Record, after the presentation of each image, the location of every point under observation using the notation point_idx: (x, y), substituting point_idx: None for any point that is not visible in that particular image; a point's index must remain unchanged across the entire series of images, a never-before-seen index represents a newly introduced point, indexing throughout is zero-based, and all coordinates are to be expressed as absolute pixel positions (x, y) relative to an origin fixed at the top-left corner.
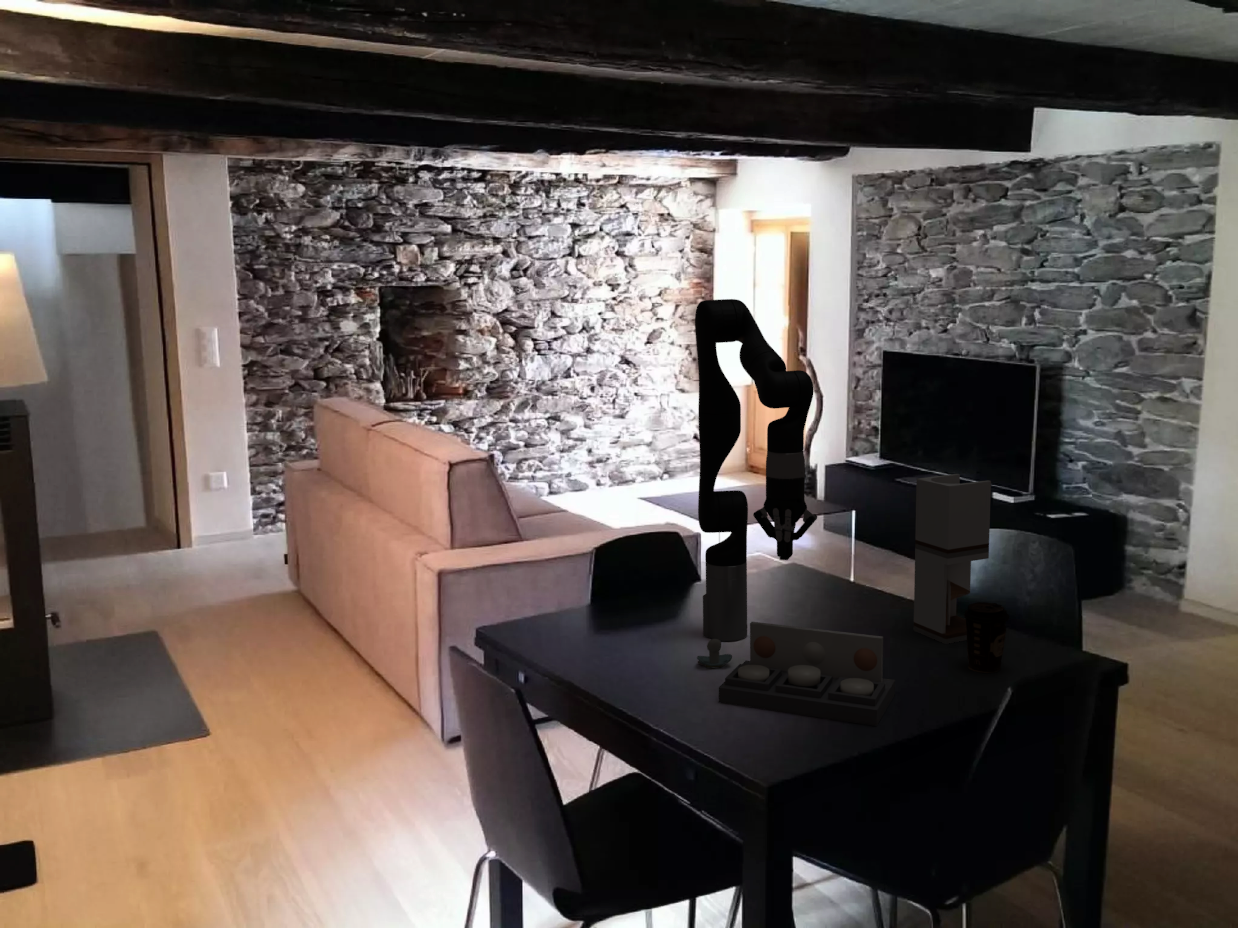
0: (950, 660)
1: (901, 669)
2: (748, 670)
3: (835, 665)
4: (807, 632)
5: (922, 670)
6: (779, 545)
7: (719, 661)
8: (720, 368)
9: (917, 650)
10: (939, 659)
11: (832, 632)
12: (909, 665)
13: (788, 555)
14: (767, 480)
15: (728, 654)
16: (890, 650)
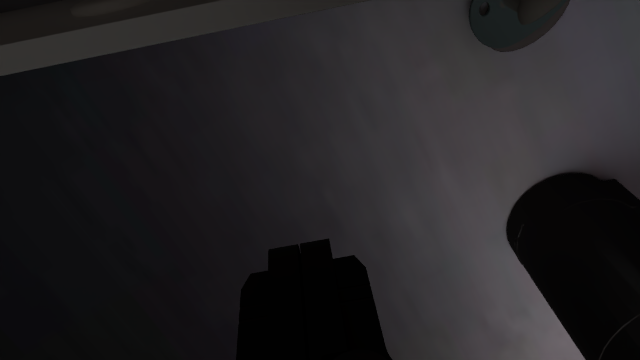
0: (4, 341)
1: (53, 241)
2: None
3: (47, 10)
4: (127, 16)
5: (9, 261)
6: (352, 330)
7: (504, 9)
8: None
9: (104, 353)
10: (28, 334)
11: (12, 49)
12: (56, 272)
13: (259, 283)
14: None
15: (490, 45)
16: (154, 326)
